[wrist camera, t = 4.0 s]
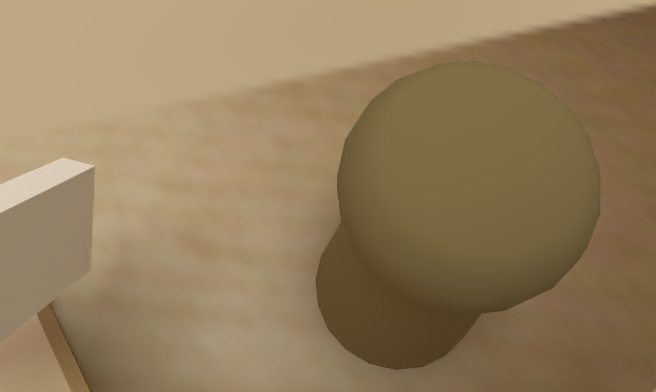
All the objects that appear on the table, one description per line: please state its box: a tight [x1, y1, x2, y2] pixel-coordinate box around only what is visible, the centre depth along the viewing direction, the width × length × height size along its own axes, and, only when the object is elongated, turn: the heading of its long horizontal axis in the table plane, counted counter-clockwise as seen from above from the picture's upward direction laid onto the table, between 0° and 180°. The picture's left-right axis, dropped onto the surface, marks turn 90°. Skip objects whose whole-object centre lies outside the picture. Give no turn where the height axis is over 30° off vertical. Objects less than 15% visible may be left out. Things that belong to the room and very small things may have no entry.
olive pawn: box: [316, 62, 600, 369], centre depth 14 cm, size 6×6×11 cm
